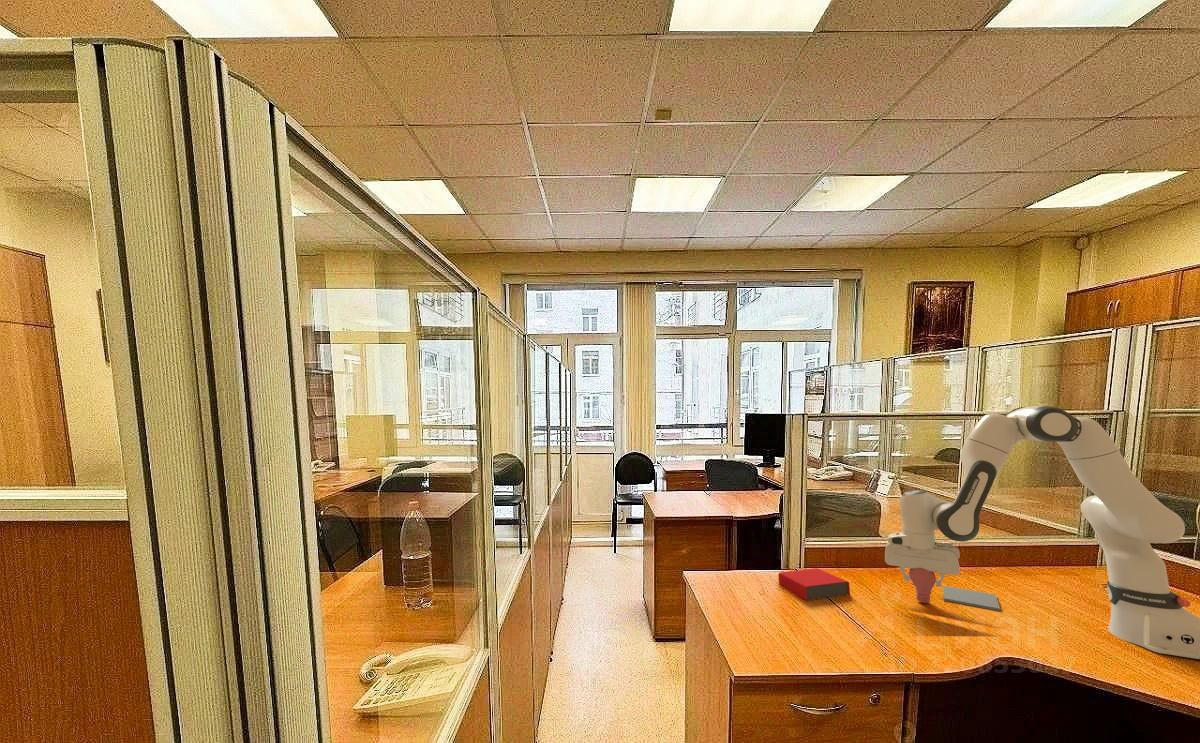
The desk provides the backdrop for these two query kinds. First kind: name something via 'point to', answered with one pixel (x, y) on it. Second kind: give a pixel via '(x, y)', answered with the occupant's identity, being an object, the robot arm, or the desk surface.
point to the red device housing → (813, 584)
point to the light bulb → (922, 583)
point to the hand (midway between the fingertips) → (922, 583)
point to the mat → (971, 598)
